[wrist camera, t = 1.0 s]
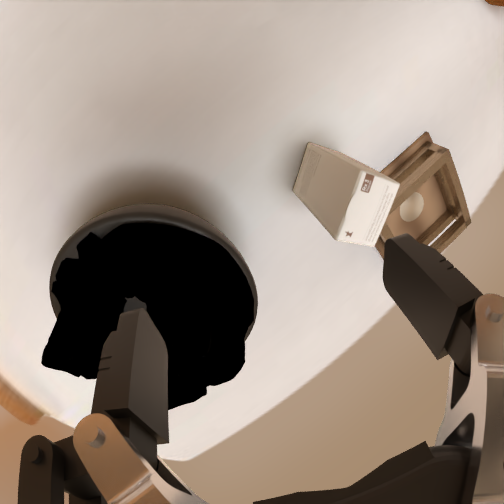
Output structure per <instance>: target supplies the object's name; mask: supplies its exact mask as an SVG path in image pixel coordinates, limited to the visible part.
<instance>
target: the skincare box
mask: <svg viewBox="0 0 504 504" xmlns="http://www.w3.org/2000/svg"><path fill="white" fill-rule="evenodd" d="M399 186H400V184H399V183H398V182H396V181H395V180H393V179H391V178H389V177H388V176H386V175H384V174H382V173H380V172H378V171H376V170H374V169H372V168H370V167H369V166H367V165H365V164H363V163H361V162H359V161H357V160H355V159H353V158H351V157H349V156H347V155H345V154H343V153H341V152H338V151H334V150H331V149H328V148H325V147H322V146H319V145H316V144H313V143H310V142H309V143H308V145H307V148H306V152H305V155H304V158H303V161H302V164H301V167H300V170H299V173H298V176H297V179H296V183H295V186H294V189H293V192H294V193H295V194H296V195H297V197H298V198H299V199H300V200H301V201H302V202H303V203H304V204H305V206H306V207H307V208H308V209H309V210H310V211H311V212H312V213H313V215H314V216H315V217H316V218H317V219H318V221H319V222H320V223H321V224H322V225H323V226H324V227H325V229H326V230H327V231H328V232H329V233H330V234H331V236H332V237H333V238H334V239H335V240H337V241H343V242H348V243H354V244H360V245H365V246H372V247H374V246H375V244H376V242H377V239H378V237H379V235H380V232H381V230H382V228H383V225H384V223H385V221H386V218H387V216H388V213H389V211H390V209H391V206H392V204H393V201H394V199H395V196H396V193H397V191H398V188H399Z"/></svg>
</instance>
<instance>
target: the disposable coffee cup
mask: <svg viewBox="0 0 504 504" xmlns="http://www.w3.org/2000/svg"><path fill="white" fill-rule="evenodd" d="M485 1H486V2H488V3H489V4H491V5H497V6H504V0H485Z"/></svg>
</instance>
